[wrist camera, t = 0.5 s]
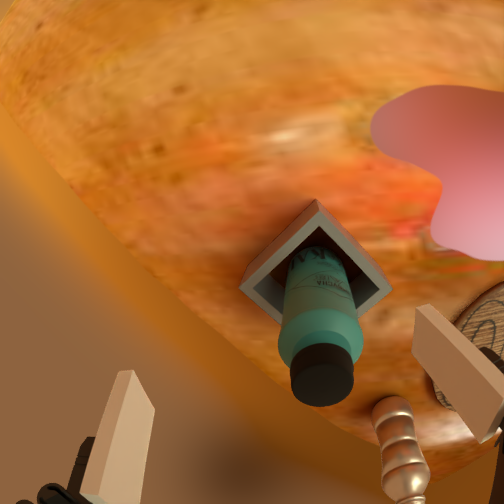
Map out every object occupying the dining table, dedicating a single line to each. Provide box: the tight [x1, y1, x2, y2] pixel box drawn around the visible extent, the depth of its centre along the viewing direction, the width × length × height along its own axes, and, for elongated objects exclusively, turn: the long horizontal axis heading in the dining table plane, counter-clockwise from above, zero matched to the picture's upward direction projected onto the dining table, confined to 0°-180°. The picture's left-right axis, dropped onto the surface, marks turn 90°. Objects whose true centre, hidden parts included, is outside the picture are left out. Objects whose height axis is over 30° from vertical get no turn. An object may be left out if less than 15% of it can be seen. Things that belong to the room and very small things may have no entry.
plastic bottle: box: [371, 396, 430, 504], centre depth 32 cm, size 6×7×20 cm
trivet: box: [431, 281, 504, 412], centre depth 35 cm, size 25×25×2 cm
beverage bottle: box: [278, 246, 363, 407], centre depth 27 cm, size 6×7×20 cm
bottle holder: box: [238, 200, 393, 325], centre depth 33 cm, size 11×11×6 cm
